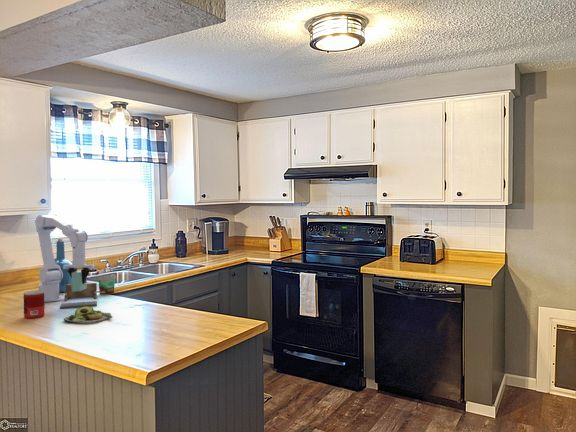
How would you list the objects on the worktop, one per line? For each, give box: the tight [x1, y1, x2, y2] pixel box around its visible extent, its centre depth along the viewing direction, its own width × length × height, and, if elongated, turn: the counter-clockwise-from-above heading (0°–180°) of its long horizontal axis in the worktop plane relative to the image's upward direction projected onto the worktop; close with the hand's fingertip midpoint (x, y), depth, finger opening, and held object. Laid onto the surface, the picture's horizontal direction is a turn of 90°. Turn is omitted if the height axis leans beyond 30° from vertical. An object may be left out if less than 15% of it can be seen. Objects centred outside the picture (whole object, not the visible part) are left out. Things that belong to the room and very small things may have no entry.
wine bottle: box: [47, 238, 73, 294], centre depth 262 cm, size 14×13×30 cm
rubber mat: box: [59, 300, 98, 310], centre depth 223 cm, size 16×8×1 cm, turn 112°
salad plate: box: [63, 306, 113, 325], centre depth 197 cm, size 19×18×5 cm
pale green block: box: [72, 270, 88, 291], centre depth 226 cm, size 4×8×9 cm, turn 2°
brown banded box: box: [64, 282, 98, 302], centre depth 241 cm, size 15×9×7 cm, turn 112°
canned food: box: [23, 289, 45, 320], centre depth 201 cm, size 8×8×11 cm
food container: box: [97, 273, 117, 295], centre depth 256 cm, size 12×6×10 cm, turn 168°
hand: (79, 283), depth 226 cm, fingers closed on pale green block, 4 cm apart
